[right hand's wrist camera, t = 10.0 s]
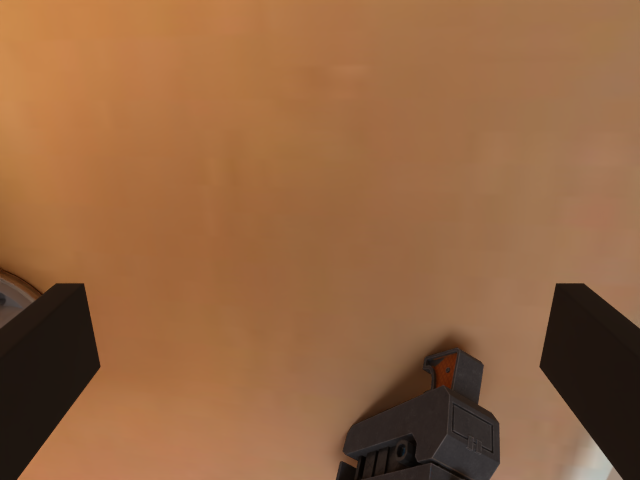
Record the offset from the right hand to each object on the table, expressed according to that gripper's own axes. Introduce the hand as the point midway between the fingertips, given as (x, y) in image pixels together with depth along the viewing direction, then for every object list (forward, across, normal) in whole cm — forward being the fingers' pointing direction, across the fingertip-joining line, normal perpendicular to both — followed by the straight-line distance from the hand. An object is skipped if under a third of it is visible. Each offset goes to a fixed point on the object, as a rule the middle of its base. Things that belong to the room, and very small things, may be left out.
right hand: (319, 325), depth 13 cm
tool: (+28, -8, +27) cm, 39 cm away
